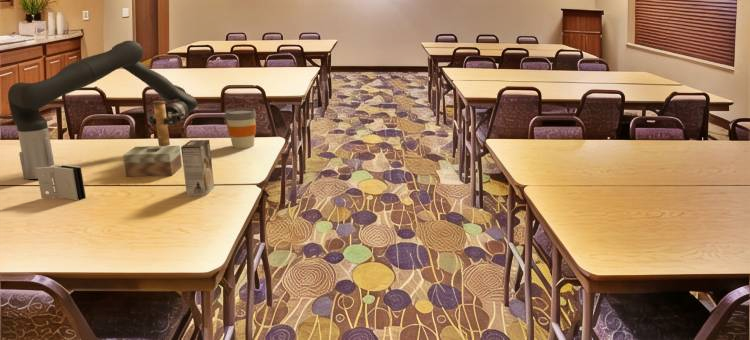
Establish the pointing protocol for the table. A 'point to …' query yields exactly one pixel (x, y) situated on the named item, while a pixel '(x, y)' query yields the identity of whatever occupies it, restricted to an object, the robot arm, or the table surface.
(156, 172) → the square hole block
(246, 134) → the reusable coffee cup
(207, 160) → the coffee box
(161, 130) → the key peg
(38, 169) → the hinge
